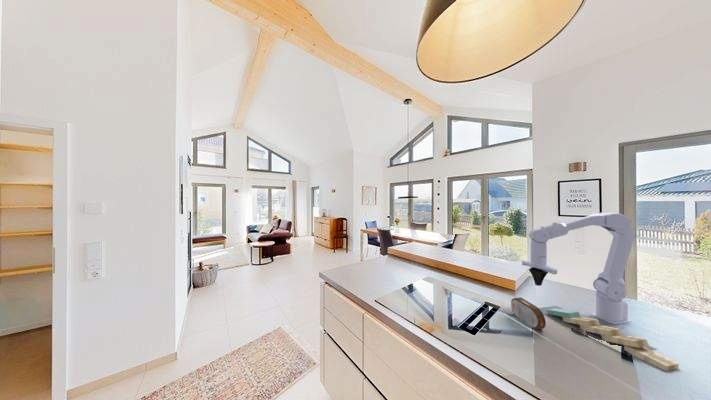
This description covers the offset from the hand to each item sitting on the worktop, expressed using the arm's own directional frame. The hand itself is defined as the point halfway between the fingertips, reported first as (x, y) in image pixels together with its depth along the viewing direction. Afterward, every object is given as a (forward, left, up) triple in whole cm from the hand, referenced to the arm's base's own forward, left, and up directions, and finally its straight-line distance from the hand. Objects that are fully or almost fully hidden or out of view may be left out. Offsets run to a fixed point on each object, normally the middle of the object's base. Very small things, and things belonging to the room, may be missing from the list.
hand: (538, 285), depth 104 cm
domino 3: (0, +18, -9) cm, 20 cm away
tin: (+17, +9, -11) cm, 22 cm away
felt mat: (-2, +17, -10) cm, 20 cm away
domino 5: (0, +30, -9) cm, 31 cm away
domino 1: (0, +6, -9) cm, 11 cm away
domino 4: (0, +24, -9) cm, 26 cm away
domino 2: (0, +12, -9) cm, 15 cm away
